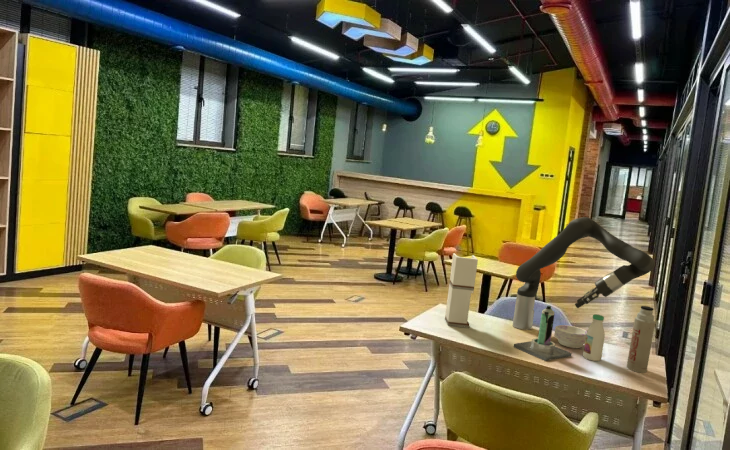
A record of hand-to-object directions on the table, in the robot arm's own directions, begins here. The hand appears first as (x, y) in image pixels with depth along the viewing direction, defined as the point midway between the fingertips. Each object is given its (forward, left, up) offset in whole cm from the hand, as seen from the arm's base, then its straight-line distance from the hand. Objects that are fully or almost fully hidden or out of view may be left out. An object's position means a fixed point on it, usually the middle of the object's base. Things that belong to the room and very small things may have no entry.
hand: (577, 304), depth 243 cm
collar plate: (+6, -10, -25) cm, 27 cm away
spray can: (+6, -10, -23) cm, 26 cm away
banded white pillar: (+17, -55, -25) cm, 63 cm away
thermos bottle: (-20, +20, -25) cm, 38 cm away
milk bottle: (-11, +4, -25) cm, 28 cm away
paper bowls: (-17, -12, -25) cm, 33 cm away
